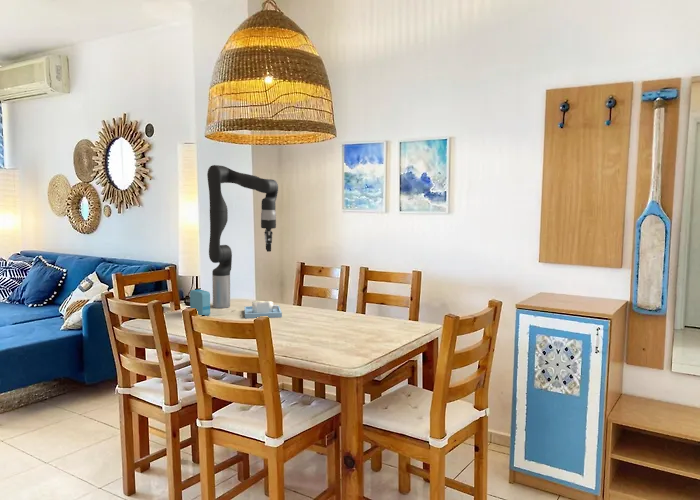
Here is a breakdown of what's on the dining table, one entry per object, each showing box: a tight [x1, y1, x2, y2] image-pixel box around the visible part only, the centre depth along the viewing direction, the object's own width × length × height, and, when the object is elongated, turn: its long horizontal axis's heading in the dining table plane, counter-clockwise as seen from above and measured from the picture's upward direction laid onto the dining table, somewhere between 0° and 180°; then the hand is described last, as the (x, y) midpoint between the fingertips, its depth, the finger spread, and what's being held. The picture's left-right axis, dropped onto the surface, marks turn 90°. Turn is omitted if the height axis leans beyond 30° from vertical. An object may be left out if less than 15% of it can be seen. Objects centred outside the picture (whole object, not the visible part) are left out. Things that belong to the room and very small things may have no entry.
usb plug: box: [251, 300, 279, 313], centre depth 277 cm, size 13×4×5 cm, turn 102°
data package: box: [189, 288, 211, 317], centre depth 273 cm, size 12×4×12 cm, turn 45°
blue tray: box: [243, 305, 283, 319], centre depth 277 cm, size 18×18×2 cm
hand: (268, 250), depth 277 cm, fingers open, 8 cm apart
